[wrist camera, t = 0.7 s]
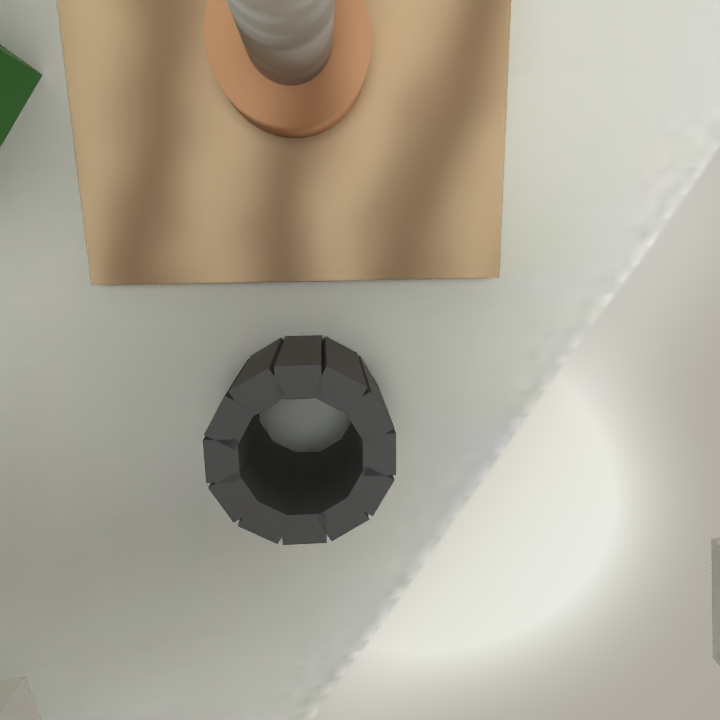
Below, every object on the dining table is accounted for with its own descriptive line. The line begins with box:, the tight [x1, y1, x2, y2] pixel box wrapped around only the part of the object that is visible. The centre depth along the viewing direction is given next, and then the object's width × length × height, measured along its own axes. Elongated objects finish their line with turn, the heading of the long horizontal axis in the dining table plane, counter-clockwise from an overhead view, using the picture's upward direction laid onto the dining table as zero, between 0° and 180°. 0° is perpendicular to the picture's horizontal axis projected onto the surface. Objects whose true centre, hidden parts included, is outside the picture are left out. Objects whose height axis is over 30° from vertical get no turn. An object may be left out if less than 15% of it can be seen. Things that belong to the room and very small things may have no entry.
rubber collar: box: [203, 336, 396, 545], centre depth 26 cm, size 8×8×7 cm
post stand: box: [57, 0, 511, 285], centre depth 19 cm, size 20×20×14 cm
